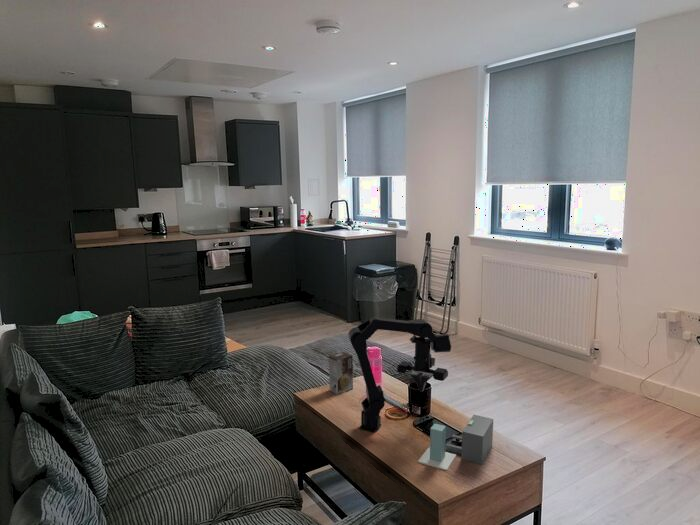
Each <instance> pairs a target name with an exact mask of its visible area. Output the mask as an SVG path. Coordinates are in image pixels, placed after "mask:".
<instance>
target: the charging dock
mask: <svg viewBox="0 0 700 525" xmlns="http://www.w3.org/2000/svg"><path fill="white" fill-rule="evenodd" d="M493 432H494V418H492V417H491V418H490V417H486V416H481V415H477V414H473V415H472V416H471V418H470V419H469V421H468V422H467V423H466V425H465V427H464V428H463V429H462V431H461V436H459V435H456V434H452V435H451V439H452V438H456V439H459V440H462V443H461V446H458V445H454V444H450V443H445V451H446V452H450V453H451V452H452V453H454V454H459V455H461V457H460V459H461V460H462V461H467V462H471V463H474V464H477V465H482V466H483V463H484V461H485V459H486V458H487V456H488V454H489V452H490V450H491V448H492V447H493V437H494V436H493V434H494V433H493Z"/></svg>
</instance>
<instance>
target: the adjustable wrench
mask: <svg viewBox="0 0 700 525" xmlns="http://www.w3.org/2000/svg"><path fill="white" fill-rule="evenodd" d="M383 395H384V398H385V400H386V401H385V402H387V403H389V404H391V405H392V404H393V405H392V406H394V405H395V406H394V407H396V406H398V407H401V408H403V407H404V408H403V409H405V408H407V409H405V410H407V411H408V409H409V408H410V407H409V406H407V405H406V404H403V403H402V402H400V401H398V400H396V399H395V398H393V397H390V396H389V395H387V394H386V393H385V390H383ZM398 407H397V408H398ZM408 407H409V408H408Z"/></svg>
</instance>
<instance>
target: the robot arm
mask: <svg viewBox="0 0 700 525" xmlns="http://www.w3.org/2000/svg"><path fill="white" fill-rule="evenodd" d="M378 330H382V331H391V332H398V333H399V332H401V333H408V334H411V335H413V336H412V337H410V338H409V341H410V342H411V344H414V356H413V360H414V365H413V363H412V362H411V361H410V362H409V361H402V362H400V363H399V364H398V365H397V368H396V372H397V373H400V374H405V373H406V372H407V371H411V375H410V378H411V377H413V378H414V380H415V382H416V384H417V386H418V388H419V390H420V392H423V391H424V388H425V386H427V383H428V381H429V380H431V378H432V377H433V379H434V380H436V381H441V382H443V381H445V380H446V379H447V378H448V376H449V371H448V369H446V368H442V367H437V368H436V369H432V368H433V367H435V363H436V357H432V354H431V350H432V351H433V352H434V353H435V354H437V353H450V352H451V350H452V344H451V340H450V335H449V334H448V333H443V334H435V333H434V332H433V327H432V325H431V324H430V323H429V322H428V321H427V320H426V319H424V318H416V319H410V320H403V319H394V318H385V317H383V318H382V317H377V316H372V317H370V318H369V319H368V320H366V321H363V322H362V323H360V324H359V325H357V326H356V327H353V328H350V330H349V331H348V332H347V335H348V340H349V342H350V344H351V346H352V348H353V350H354V352H355V353H356V357H357V360H358V363H359V366H360V369H361V374H362V376H363V379H364V384H365V393H366V394H365V395H366V397H365V398H364V399H363V400H362V401H361V402H360V404H361V406H362V410H361V412H360V414H361V415H360V419H361V421H360V426H359V427H358V428H359V429H360V430H365V431H367V432H371V433H375V432H377V430H378V429H379V428H380V427H381V426H382V423H381V422H382V421H381V420H382V419H381V418H382V417H381V416H380V413H381V411H382V410H383V408H384V407H385V402H387V401H386V400H385V398H384V395H383V391H384V390H383V388H382V386H381V384H379V385H377V383H376V380H375V376H374V373H373V369H372V366H371V364H370V360H369V355H368V350H367V349H368V346H367V340H369V339H370V338H371V337H372V336H373V334H375V333H376V332H377V331H378Z"/></svg>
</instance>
